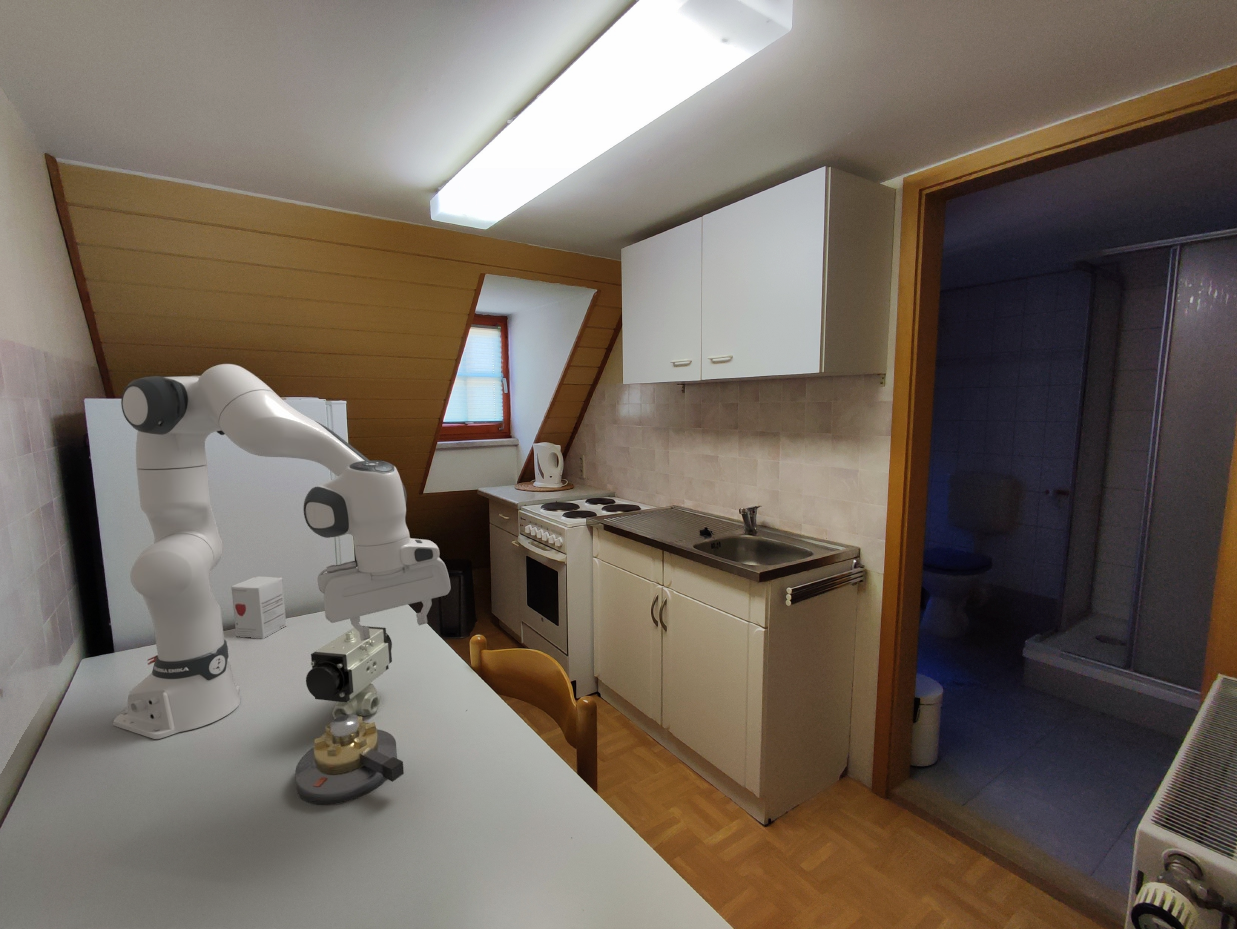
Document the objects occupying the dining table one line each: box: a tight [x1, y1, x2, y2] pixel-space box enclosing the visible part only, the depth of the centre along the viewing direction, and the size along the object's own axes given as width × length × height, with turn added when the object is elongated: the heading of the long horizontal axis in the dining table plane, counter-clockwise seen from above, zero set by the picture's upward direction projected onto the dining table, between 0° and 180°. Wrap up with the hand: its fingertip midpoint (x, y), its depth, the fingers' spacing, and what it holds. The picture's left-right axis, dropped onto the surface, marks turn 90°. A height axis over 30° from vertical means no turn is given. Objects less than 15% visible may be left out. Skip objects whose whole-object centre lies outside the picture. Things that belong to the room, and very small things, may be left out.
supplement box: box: [230, 576, 287, 640], centre depth 156 cm, size 9×9×15 cm
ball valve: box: [305, 625, 393, 720], centre depth 114 cm, size 18×8×18 cm, turn 168°
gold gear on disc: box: [294, 714, 398, 806], centre depth 97 cm, size 16×16×10 cm
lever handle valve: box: [313, 715, 405, 782], centre depth 94 cm, size 18×10×4 cm, turn 60°
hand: (394, 630), depth 96 cm, fingers open, 8 cm apart
